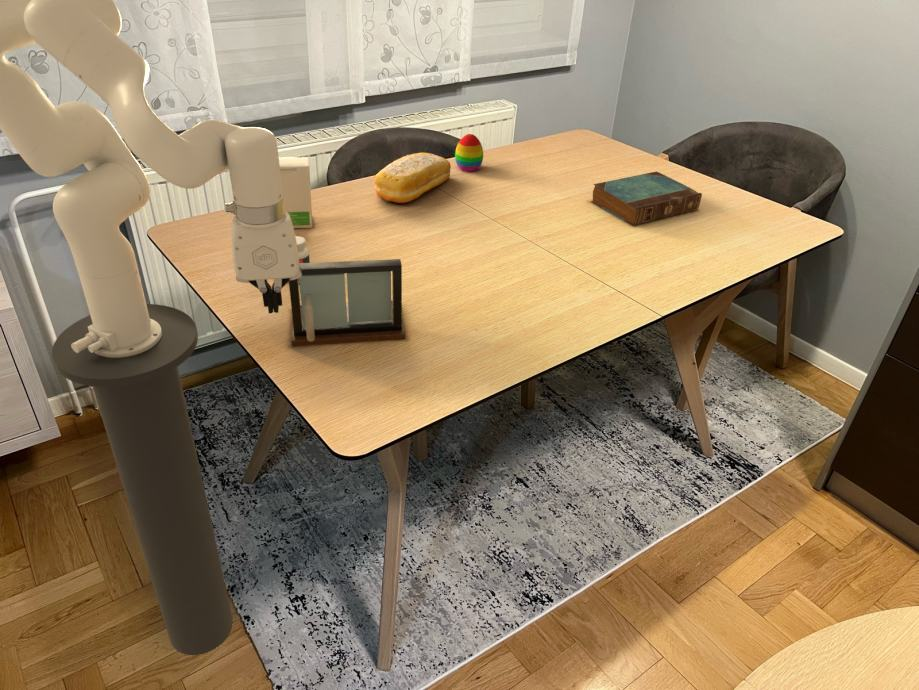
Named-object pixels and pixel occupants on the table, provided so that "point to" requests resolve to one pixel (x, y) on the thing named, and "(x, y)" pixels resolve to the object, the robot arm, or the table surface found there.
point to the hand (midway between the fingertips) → (273, 308)
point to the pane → (322, 302)
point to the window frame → (356, 303)
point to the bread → (411, 177)
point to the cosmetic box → (296, 190)
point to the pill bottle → (302, 251)
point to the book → (645, 198)
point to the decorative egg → (469, 153)
